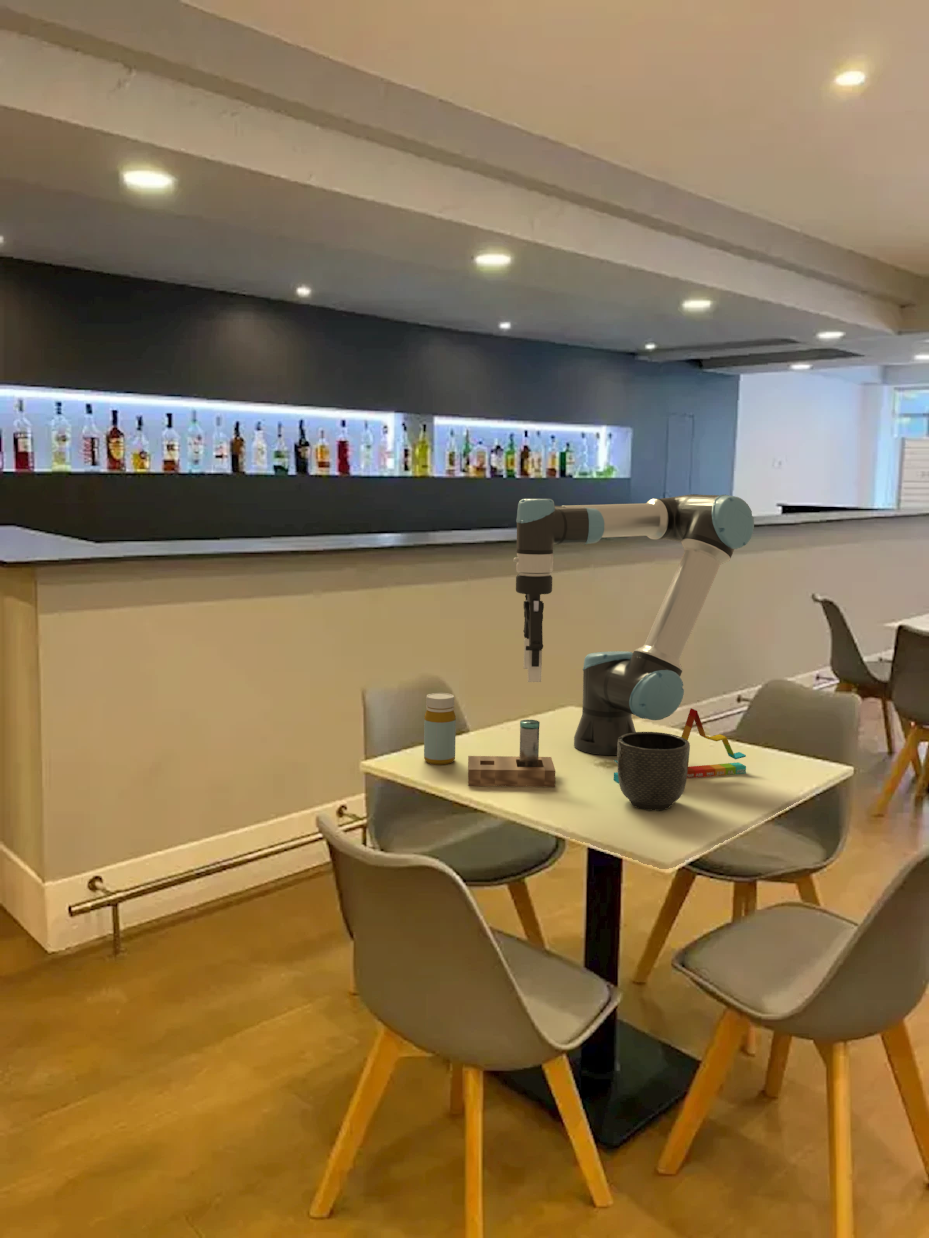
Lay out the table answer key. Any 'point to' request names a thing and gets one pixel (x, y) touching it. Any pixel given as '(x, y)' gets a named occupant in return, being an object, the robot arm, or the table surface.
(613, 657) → the robot arm
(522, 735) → the clear spice jar
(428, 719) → the bottle
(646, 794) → the planter
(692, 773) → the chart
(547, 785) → the socket block
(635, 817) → the table surface
